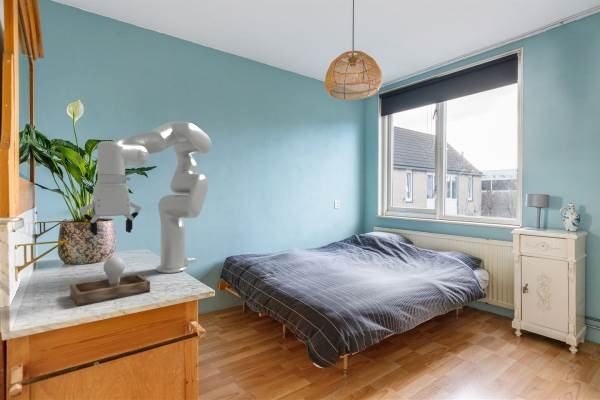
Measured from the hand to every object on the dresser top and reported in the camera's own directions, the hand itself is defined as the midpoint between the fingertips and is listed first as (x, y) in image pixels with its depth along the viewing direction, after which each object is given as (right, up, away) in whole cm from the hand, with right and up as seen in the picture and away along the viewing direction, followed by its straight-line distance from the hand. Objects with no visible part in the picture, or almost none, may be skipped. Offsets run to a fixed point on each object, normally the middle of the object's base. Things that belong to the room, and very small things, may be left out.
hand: (112, 233), depth 102 cm
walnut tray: (-1, -20, +1) cm, 20 cm away
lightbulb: (0, -19, +1) cm, 19 cm away
